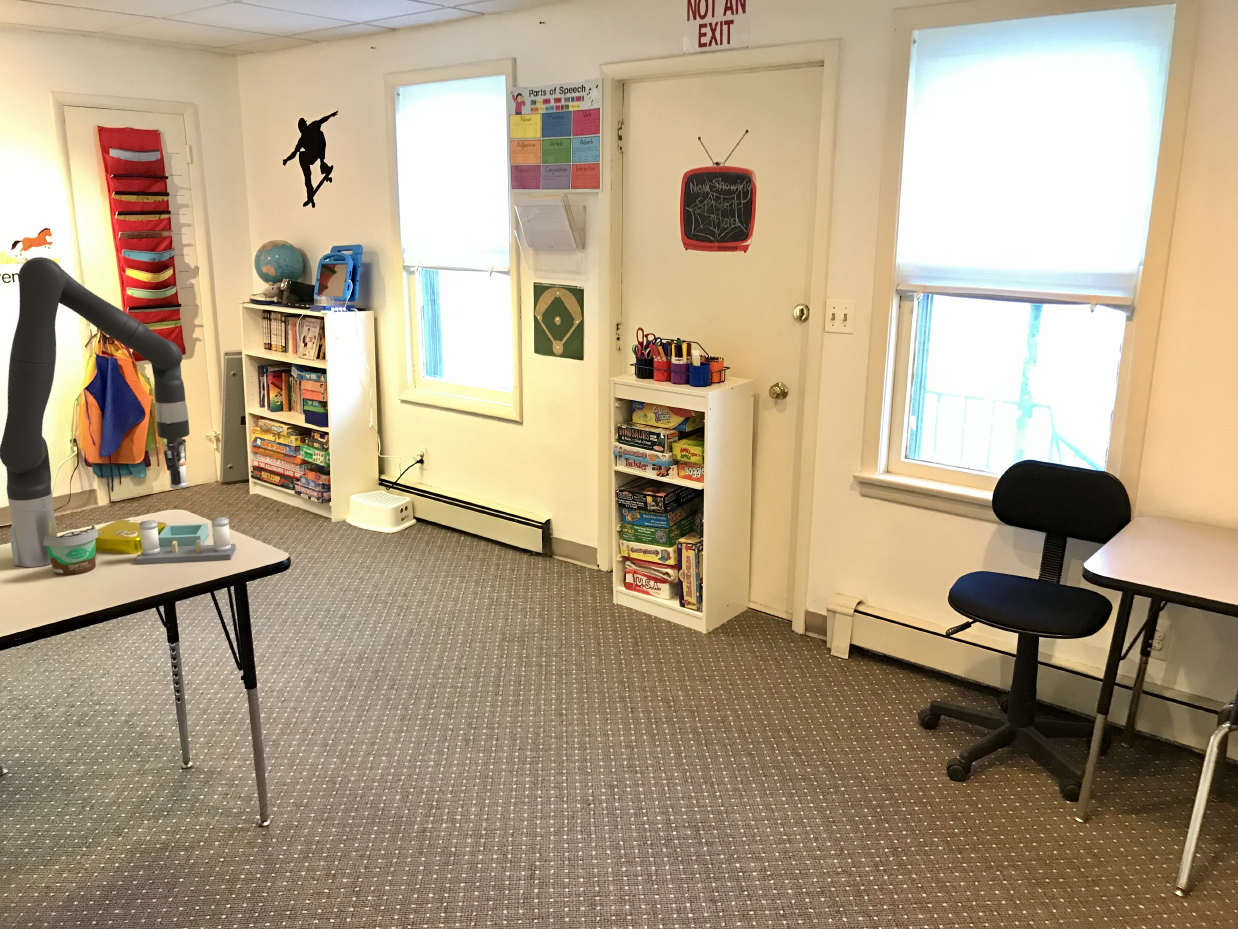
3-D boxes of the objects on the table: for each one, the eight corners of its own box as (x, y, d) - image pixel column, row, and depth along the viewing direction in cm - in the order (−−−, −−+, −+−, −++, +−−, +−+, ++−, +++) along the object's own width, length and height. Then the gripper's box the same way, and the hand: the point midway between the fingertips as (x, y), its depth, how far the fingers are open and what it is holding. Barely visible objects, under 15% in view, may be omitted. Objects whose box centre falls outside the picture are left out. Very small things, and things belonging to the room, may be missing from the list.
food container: (60, 581, 222) (55, 542, 220) (47, 576, 225) (42, 536, 223) (112, 567, 232) (107, 528, 230) (98, 561, 235) (94, 523, 233)
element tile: (171, 537, 255) (169, 520, 254) (137, 556, 241) (135, 538, 240) (120, 533, 257) (118, 517, 256) (83, 552, 243) (81, 534, 242)
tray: (158, 550, 244) (157, 537, 243) (167, 537, 254) (166, 525, 253) (201, 548, 246) (200, 535, 245) (208, 535, 256) (207, 523, 255)
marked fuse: (168, 489, 244) (165, 455, 241) (172, 484, 248) (169, 451, 245) (185, 488, 245) (182, 455, 242) (189, 484, 248) (185, 451, 246)
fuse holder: (137, 564, 234) (133, 528, 232) (145, 553, 242) (141, 518, 239) (230, 559, 239) (227, 524, 237) (235, 549, 247) (233, 514, 244)
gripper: (163, 412, 247) (169, 475, 252) (149, 424, 234) (156, 490, 238) (193, 412, 249) (199, 474, 253) (181, 423, 236) (187, 489, 240)
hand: (178, 481), depth 246 cm, fingers closed on marked fuse, 4 cm apart
